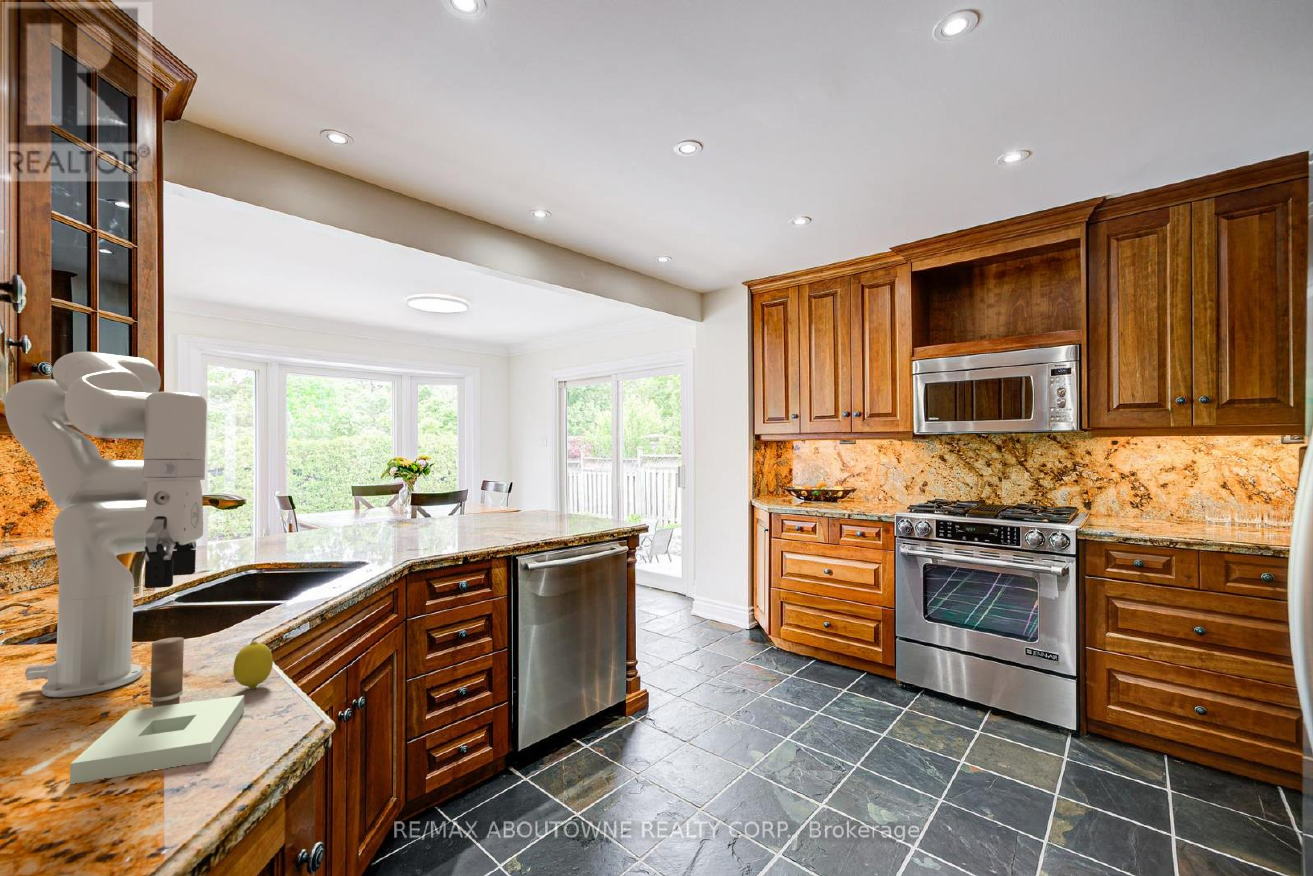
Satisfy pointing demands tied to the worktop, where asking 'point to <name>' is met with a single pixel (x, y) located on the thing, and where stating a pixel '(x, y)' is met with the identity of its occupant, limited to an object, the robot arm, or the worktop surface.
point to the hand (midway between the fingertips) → (171, 580)
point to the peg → (167, 671)
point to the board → (159, 739)
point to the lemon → (253, 664)
